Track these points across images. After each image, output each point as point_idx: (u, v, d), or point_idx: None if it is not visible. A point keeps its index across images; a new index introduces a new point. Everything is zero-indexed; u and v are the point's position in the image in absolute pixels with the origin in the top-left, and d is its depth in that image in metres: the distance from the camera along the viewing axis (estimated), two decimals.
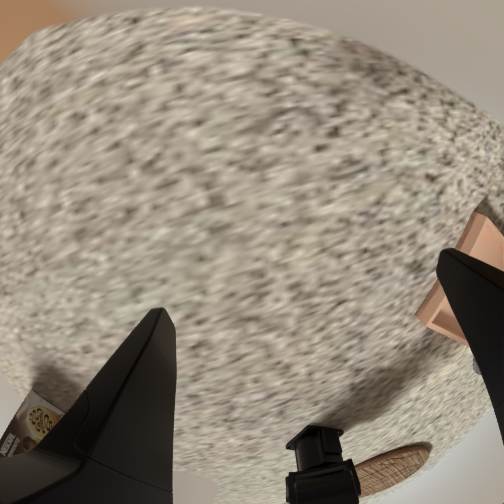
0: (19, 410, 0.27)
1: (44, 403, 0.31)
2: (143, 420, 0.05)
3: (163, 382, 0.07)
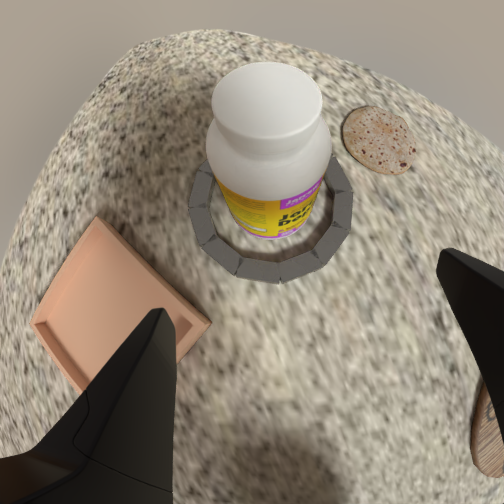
0: None
1: None
2: (143, 420, 0.05)
3: (163, 382, 0.07)
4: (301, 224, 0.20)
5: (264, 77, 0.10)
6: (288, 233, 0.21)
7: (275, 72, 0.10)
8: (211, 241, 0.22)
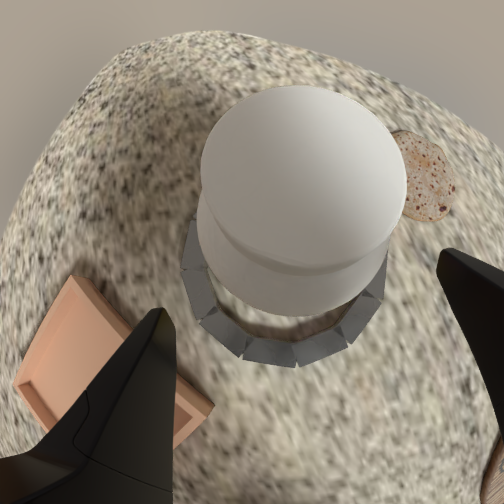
0: None
1: None
2: (143, 420, 0.05)
3: (163, 382, 0.07)
4: None
5: (301, 118, 0.06)
6: None
7: (320, 109, 0.06)
8: (210, 315, 0.17)
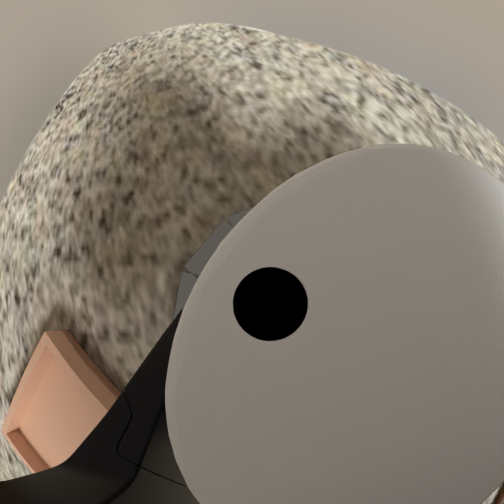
0: None
1: None
2: None
3: None
4: None
5: (445, 272, 0.02)
6: None
7: (478, 235, 0.02)
8: None
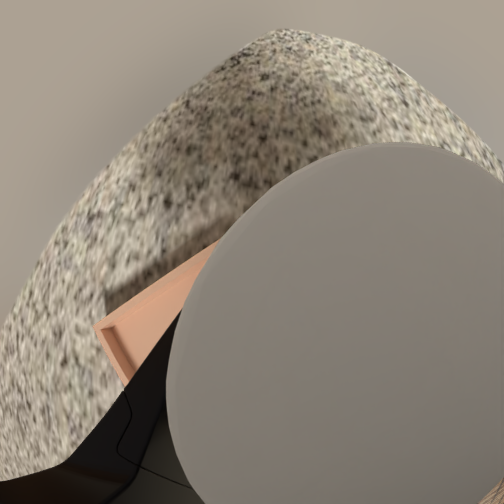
0: None
1: None
2: None
3: None
4: None
5: (442, 268, 0.02)
6: None
7: (475, 232, 0.02)
8: None
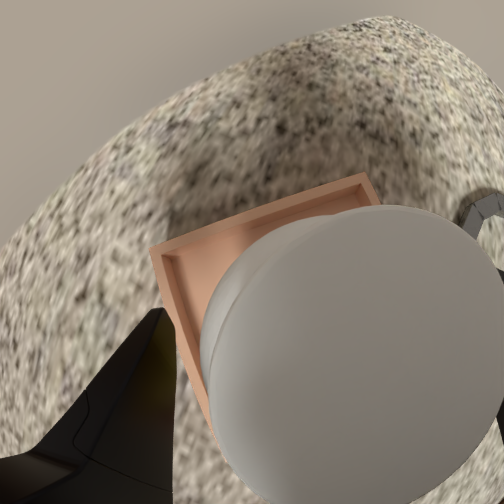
0: None
1: None
2: (143, 420, 0.05)
3: (163, 382, 0.07)
4: None
5: (400, 301, 0.03)
6: None
7: (431, 273, 0.03)
8: None
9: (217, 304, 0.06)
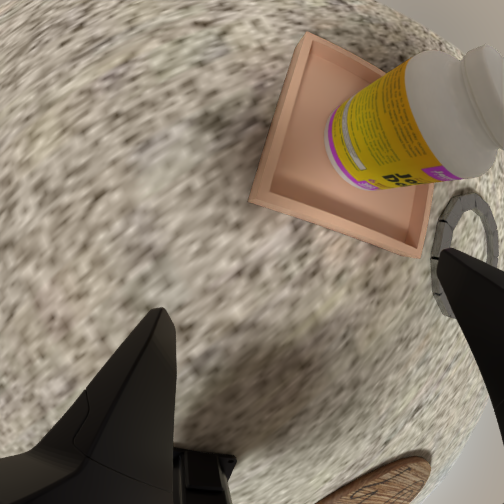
0: None
1: None
2: (143, 420, 0.05)
3: (163, 382, 0.07)
4: (382, 189, 0.17)
5: None
6: (366, 187, 0.17)
7: None
8: (449, 227, 0.21)
9: (437, 51, 0.08)
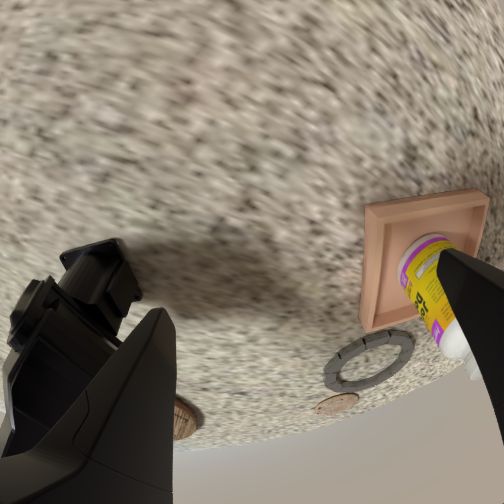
0: None
1: None
2: (143, 420, 0.05)
3: (163, 382, 0.07)
4: (404, 289, 0.23)
5: None
6: (402, 279, 0.23)
7: None
8: (387, 340, 0.30)
9: None
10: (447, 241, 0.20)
